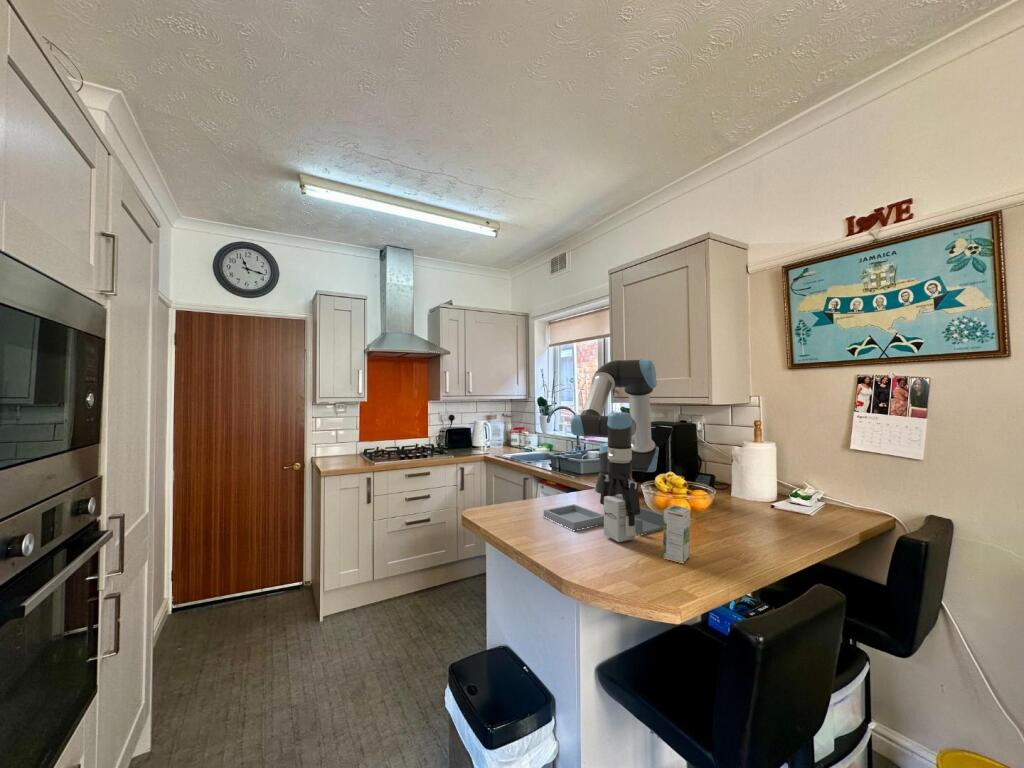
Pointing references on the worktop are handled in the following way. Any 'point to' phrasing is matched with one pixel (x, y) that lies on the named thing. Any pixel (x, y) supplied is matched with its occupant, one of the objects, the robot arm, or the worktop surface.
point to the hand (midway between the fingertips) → (619, 531)
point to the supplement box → (616, 518)
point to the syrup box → (676, 533)
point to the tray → (574, 516)
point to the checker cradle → (648, 521)
